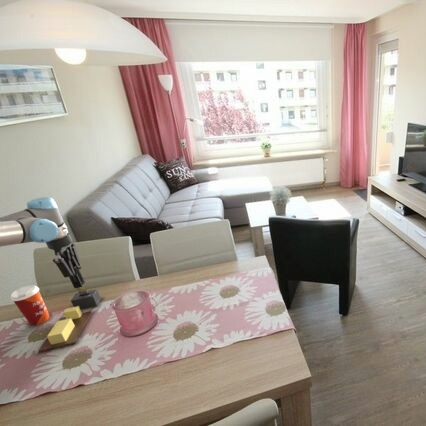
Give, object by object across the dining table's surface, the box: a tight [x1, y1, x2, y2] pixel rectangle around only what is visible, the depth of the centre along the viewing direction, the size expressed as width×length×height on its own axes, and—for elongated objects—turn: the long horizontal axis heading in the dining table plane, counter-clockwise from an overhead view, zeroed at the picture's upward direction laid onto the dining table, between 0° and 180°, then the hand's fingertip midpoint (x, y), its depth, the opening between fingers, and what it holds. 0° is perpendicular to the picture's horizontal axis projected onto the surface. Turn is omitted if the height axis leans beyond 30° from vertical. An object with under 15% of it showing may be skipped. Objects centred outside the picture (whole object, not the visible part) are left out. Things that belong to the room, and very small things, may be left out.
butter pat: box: [62, 306, 83, 319], centre depth 118 cm, size 4×2×4 cm, turn 108°
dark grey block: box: [70, 288, 102, 311], centre depth 126 cm, size 8×5×6 cm, turn 108°
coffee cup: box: [10, 284, 51, 327], centre depth 117 cm, size 8×8×15 cm
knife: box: [73, 266, 89, 296], centre depth 122 cm, size 3×2×15 cm, turn 108°
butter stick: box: [46, 318, 75, 345], centre depth 110 cm, size 4×8×4 cm, turn 18°
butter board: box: [38, 310, 93, 353], centre depth 113 cm, size 11×17×1 cm, turn 18°
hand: (79, 285), depth 123 cm, fingers closed on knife, 2 cm apart
